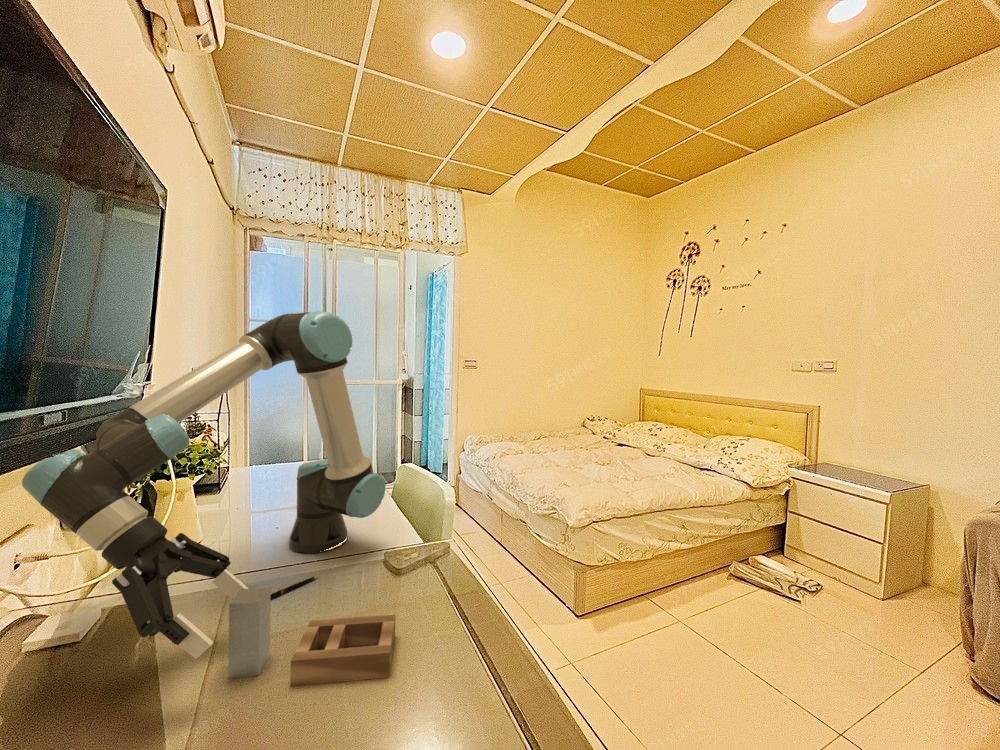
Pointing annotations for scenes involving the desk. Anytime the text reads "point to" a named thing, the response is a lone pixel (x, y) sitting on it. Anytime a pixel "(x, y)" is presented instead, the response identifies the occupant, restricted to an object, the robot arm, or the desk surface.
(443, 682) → the desk surface
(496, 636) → the desk surface
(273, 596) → the fountain pen
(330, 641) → the wooden slotted frame
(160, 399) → the robot arm
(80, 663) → the desk surface
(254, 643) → the grey tall rectangular block
